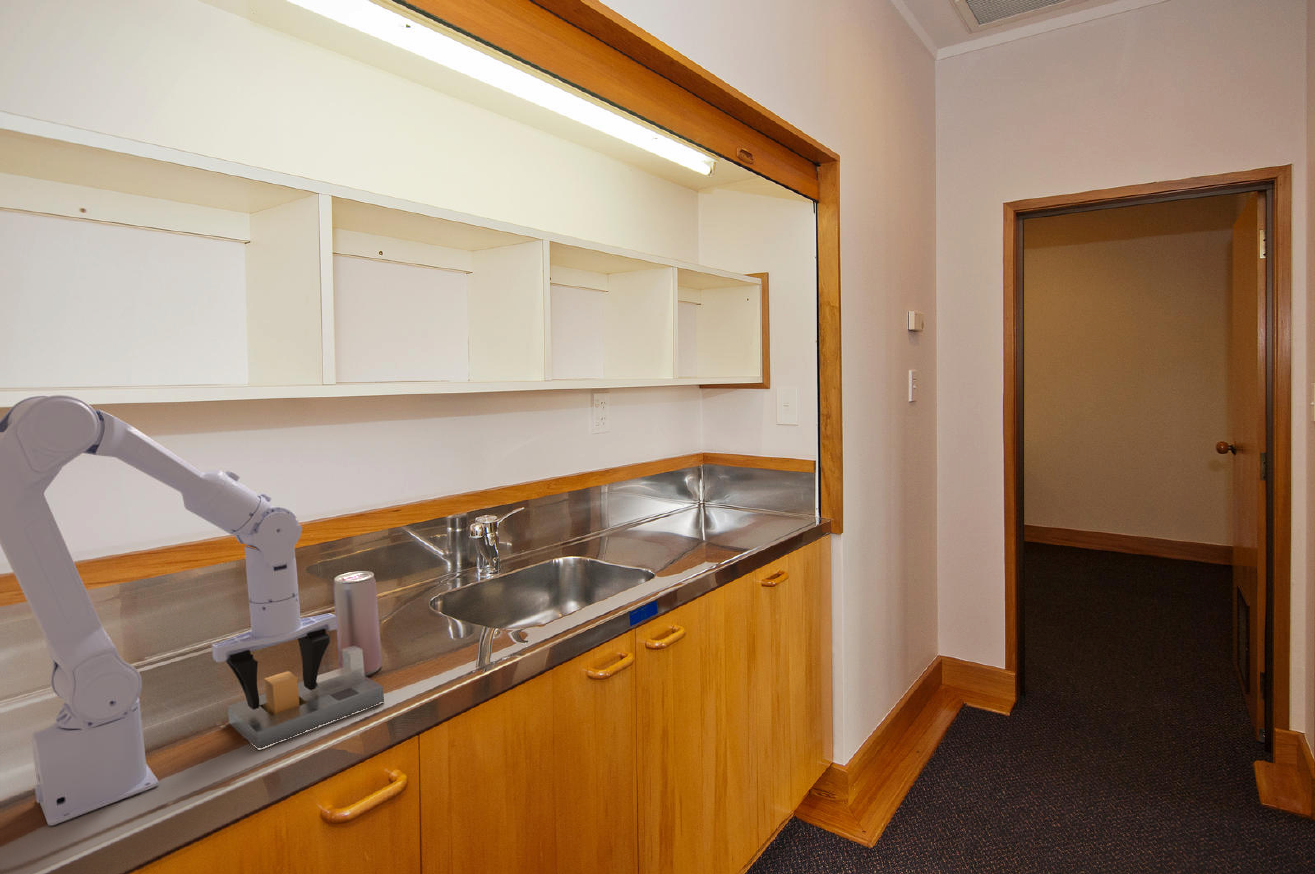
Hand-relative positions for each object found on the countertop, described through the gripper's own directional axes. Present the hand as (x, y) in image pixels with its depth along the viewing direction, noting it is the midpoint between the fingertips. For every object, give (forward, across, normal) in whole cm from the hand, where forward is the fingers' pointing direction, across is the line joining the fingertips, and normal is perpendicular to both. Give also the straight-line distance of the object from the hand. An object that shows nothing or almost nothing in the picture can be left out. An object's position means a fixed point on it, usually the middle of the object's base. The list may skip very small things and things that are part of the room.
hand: (282, 697), depth 93 cm
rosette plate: (+3, -3, 0) cm, 5 cm away
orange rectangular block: (+3, 0, 0) cm, 3 cm away
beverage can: (+4, -14, -8) cm, 17 cm away
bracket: (+1, -7, 0) cm, 7 cm away
